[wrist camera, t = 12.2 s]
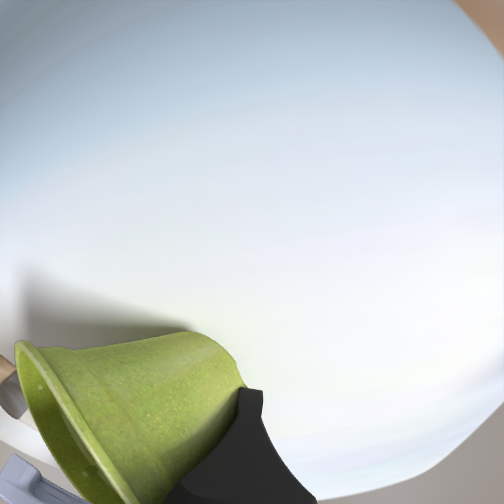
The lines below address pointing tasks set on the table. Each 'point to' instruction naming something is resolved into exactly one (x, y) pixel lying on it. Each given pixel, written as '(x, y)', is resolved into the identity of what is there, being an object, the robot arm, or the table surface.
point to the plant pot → (130, 411)
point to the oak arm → (11, 390)
